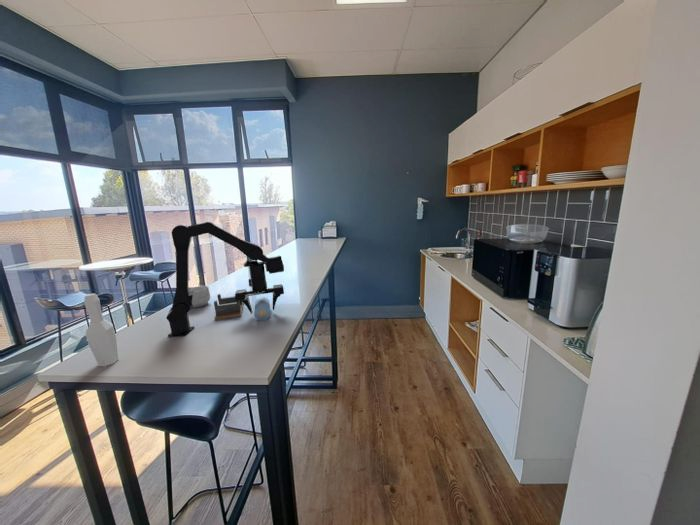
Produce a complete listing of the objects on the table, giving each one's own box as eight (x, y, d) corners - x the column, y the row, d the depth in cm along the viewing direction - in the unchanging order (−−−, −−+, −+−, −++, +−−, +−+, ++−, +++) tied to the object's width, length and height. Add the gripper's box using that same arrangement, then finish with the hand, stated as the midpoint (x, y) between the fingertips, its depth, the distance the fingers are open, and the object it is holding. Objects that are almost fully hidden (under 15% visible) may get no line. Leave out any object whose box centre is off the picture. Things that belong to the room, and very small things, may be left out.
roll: (270, 319, 109) (269, 305, 108) (255, 322, 108) (253, 308, 106) (270, 308, 121) (268, 295, 119) (256, 310, 119) (254, 297, 118)
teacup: (203, 309, 124) (200, 292, 122) (180, 310, 125) (177, 293, 123) (218, 298, 138) (216, 283, 136) (197, 299, 138) (194, 284, 136)
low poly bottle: (125, 354, 88) (108, 289, 83) (117, 364, 83) (98, 296, 78) (100, 359, 86) (81, 293, 81) (91, 370, 80) (69, 300, 75)
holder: (240, 316, 114) (238, 300, 112) (214, 320, 111) (211, 304, 109) (243, 303, 129) (241, 289, 127) (220, 306, 126) (218, 292, 124)
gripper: (280, 268, 120) (284, 301, 124) (235, 273, 115) (240, 308, 119) (281, 274, 110) (286, 310, 113) (232, 280, 105) (238, 318, 108)
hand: (262, 311), depth 114 cm, fingers open, 8 cm apart
